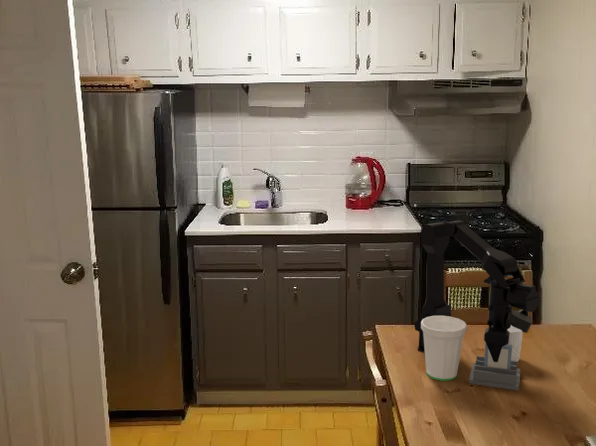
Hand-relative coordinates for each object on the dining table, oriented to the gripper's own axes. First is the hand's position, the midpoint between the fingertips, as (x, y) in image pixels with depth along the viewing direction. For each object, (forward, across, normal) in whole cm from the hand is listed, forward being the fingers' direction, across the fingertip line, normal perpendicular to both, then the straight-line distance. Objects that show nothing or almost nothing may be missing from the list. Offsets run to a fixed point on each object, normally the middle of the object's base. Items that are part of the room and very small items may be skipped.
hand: (496, 355), depth 178 cm
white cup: (+7, +15, -2) cm, 16 cm away
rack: (+7, 0, 0) cm, 7 cm away
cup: (+7, -3, +14) cm, 16 cm away
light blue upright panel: (+6, 0, 0) cm, 6 cm away
